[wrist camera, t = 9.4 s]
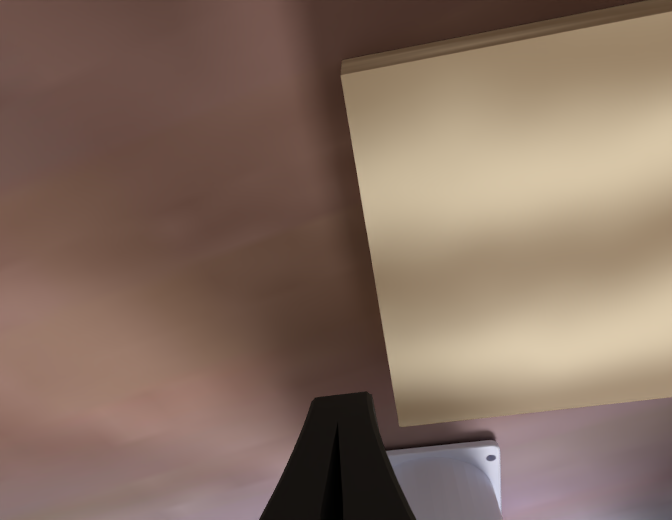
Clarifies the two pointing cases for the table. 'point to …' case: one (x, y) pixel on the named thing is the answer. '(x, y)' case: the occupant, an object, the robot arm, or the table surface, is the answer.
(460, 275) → the beige square tray
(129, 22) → the table surface
